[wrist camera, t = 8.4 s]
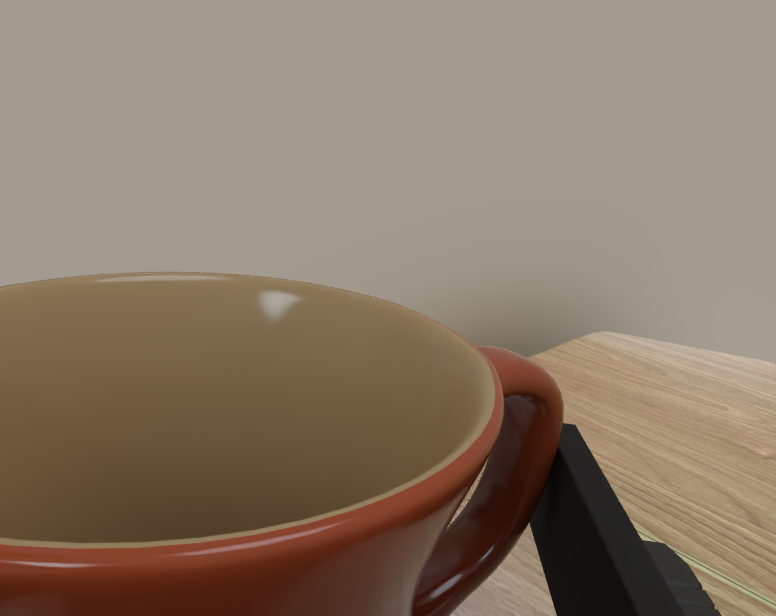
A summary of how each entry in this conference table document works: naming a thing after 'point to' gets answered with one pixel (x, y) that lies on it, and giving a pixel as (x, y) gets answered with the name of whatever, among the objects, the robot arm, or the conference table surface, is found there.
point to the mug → (255, 450)
